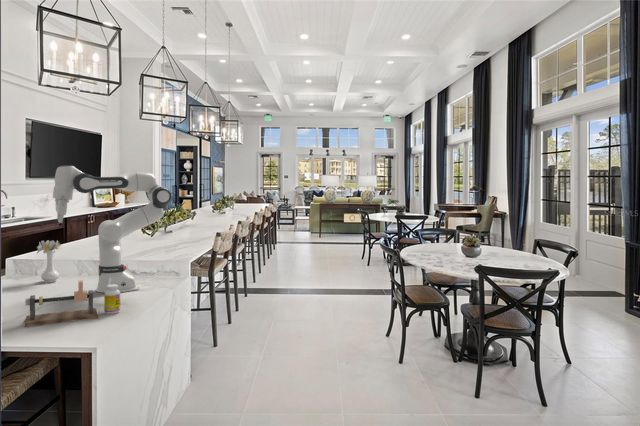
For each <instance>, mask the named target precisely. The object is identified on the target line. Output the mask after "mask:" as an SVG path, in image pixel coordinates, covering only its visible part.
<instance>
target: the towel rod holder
mask: <svg viewBox="0 0 640 426" xmlns="http://www.w3.org/2000/svg"><path fill="white" fill-rule="evenodd" d="M88 294H89V298H87V301H88V304H87V305H88V309H87V308H85V309H77V310H69V311H61V312H60V311H59V312H49V313H40V314H36V303H35V299H36V295H30V296H29V298H30V305H29V315H26V317H25V321H24V327H33V326H42V325H43V326H44V325H51V324H59V323H60V324H61V323H69V322H75V321H85V320H92V319H98V318H99V315H98V311H97V307H95V308H94V291H93V289H91V290H87V295H88Z"/></svg>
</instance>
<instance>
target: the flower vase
mask: <svg viewBox="0 0 640 426" xmlns="http://www.w3.org/2000/svg"><path fill="white" fill-rule="evenodd" d="M38 243H39V244H38V246H36V249H37V253H36V255H38V254H39V252H42V251H43V252H42V253H43V254H46V267H45V270H44V271H43V272H42V273H41V275H40V278H41V280H43V282H44V283H46V284H47V283H48V284H49V283H50V284H51V283H55V282H57V280H58V279H59V277H60V273H59V272H58V271H57V270H56V268H55V267H54V254H56V250H58V251H60V252H62V253H63V250H62V249H61V248H63V246H62V244H61V243H60V242H59V240H56V241H55V240H49V239H48V240H46V241H45V240H41V241H39V242H38Z"/></svg>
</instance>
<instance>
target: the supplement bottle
mask: <svg viewBox="0 0 640 426" xmlns="http://www.w3.org/2000/svg"><path fill="white" fill-rule="evenodd" d="M117 288H118V285H116V284H111V285H107V291H106V292H105V293H104V295H103V296H104V300H103V301H104V308H103V310H104V313H105V314H108V315H114V314H118V313H120V311H121V292H120V291H119V290H117Z"/></svg>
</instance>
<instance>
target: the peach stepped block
mask: <svg viewBox="0 0 640 426" xmlns="http://www.w3.org/2000/svg"><path fill="white" fill-rule="evenodd" d="M83 283H84V282H83V280H78V283H77V284H78V285H77V286H78V287H77V288H78V290H77V291H76V290H75V291H73V296H74V299H73V300H74V301H73V302H74V303H77V302H79V303H80V302H87V301H88V298H87V295H88V290H83V289H84V284H83Z"/></svg>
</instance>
